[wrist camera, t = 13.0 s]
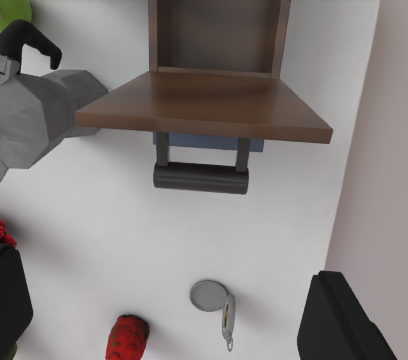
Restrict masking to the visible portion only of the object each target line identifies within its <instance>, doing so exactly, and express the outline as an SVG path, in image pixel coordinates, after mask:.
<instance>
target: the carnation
mask: <svg viewBox="0 0 408 360" xmlns="http://www.w3.org/2000/svg"><path fill="white" fill-rule="evenodd" d="M4 228H5V225H4V223H3V222H2V221H1V220H0V243H2V244H11V245H13V246H14V247H15V248H16V246H17V244H16V242H15V240H14V238H13V237H11V236H10V235H9V234H6V232H5V229H4ZM17 348H18V347H17V343H15V344H14V345H13V346H12V348H11V349H10V350H9V352H8V353H7V354H6V356H5V357H4V358H3V360H12V359H13V358H14V356H15V354H16V351H17Z"/></svg>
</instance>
